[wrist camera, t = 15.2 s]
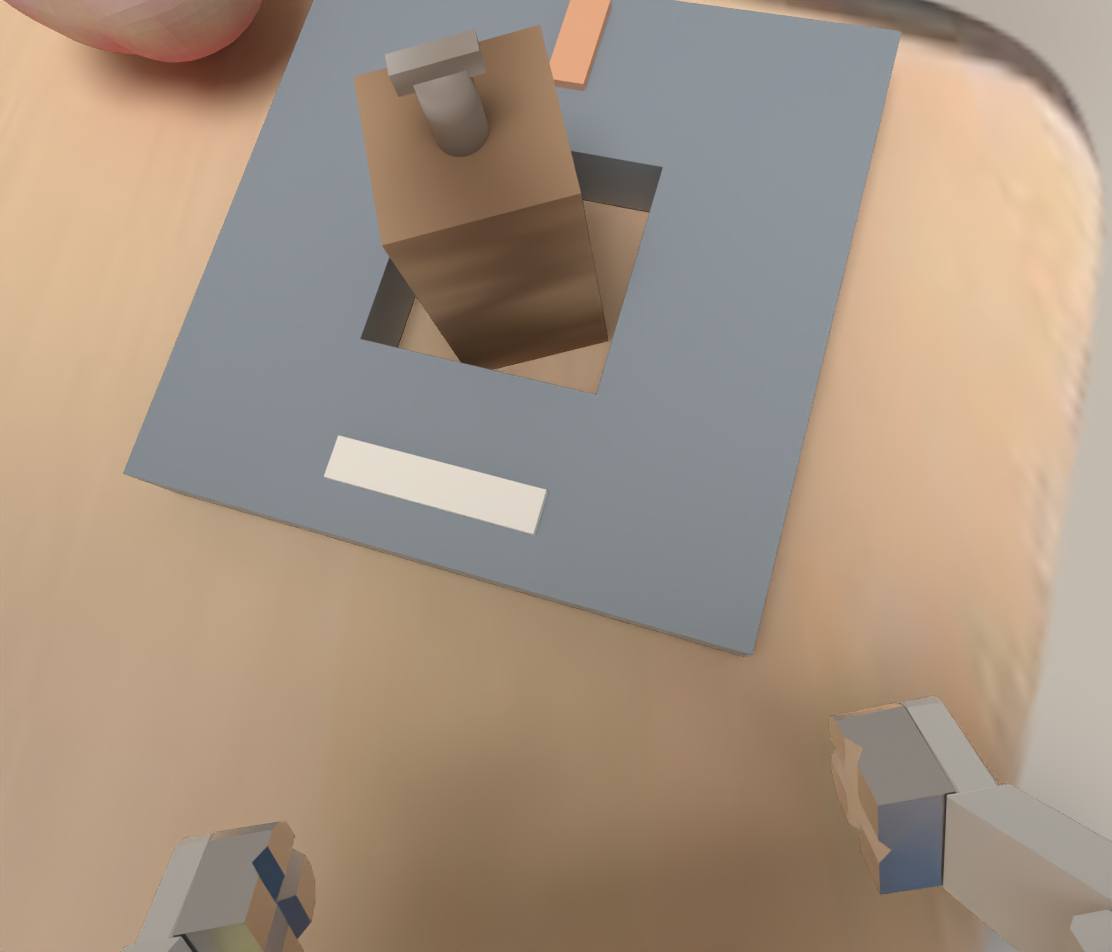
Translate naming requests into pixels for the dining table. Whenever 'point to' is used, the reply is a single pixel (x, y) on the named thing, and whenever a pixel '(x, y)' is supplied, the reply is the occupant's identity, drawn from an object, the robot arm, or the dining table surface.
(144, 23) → the decorative fruit
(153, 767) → the dining table surface
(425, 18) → the socket plate
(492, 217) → the wooden peg with knob
